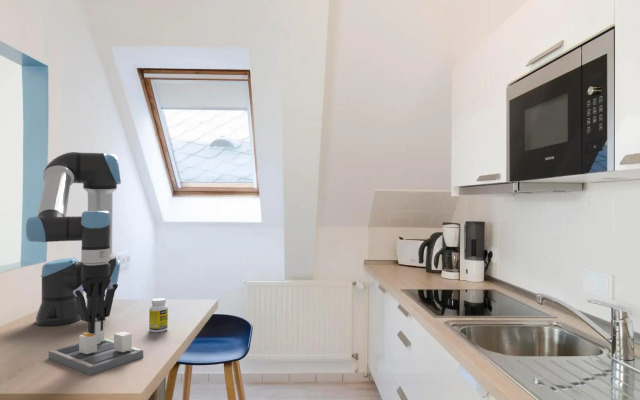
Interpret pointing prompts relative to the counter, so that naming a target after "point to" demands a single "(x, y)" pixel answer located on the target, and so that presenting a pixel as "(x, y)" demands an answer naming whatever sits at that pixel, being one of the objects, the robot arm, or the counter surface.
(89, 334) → the breaker mid
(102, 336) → the breaker far
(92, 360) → the panel
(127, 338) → the block
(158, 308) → the pill bottle
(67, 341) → the counter surface
